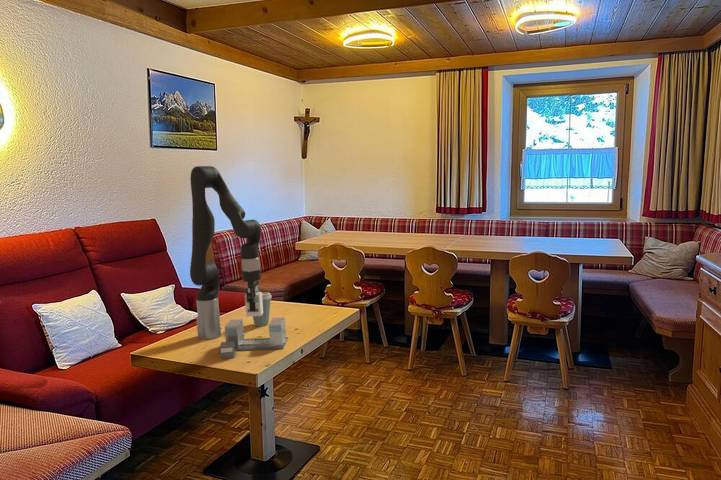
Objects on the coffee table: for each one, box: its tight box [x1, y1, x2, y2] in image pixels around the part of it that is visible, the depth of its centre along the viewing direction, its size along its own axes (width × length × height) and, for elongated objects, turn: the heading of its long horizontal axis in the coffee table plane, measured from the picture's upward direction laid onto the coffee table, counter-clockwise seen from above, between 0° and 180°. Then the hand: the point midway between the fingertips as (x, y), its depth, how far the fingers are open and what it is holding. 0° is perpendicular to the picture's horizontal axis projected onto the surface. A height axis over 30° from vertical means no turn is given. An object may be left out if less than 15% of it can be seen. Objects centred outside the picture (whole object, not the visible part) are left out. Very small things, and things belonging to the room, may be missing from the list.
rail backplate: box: [224, 317, 289, 352], centre depth 224 cm, size 24×12×10 cm, turn 89°
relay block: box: [219, 341, 236, 360], centre depth 212 cm, size 5×6×5 cm
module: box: [244, 291, 263, 318], centre depth 222 cm, size 6×5×9 cm
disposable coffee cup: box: [252, 292, 273, 327], centre depth 254 cm, size 11×11×15 cm
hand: (254, 308), depth 222 cm, fingers closed on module, 5 cm apart
